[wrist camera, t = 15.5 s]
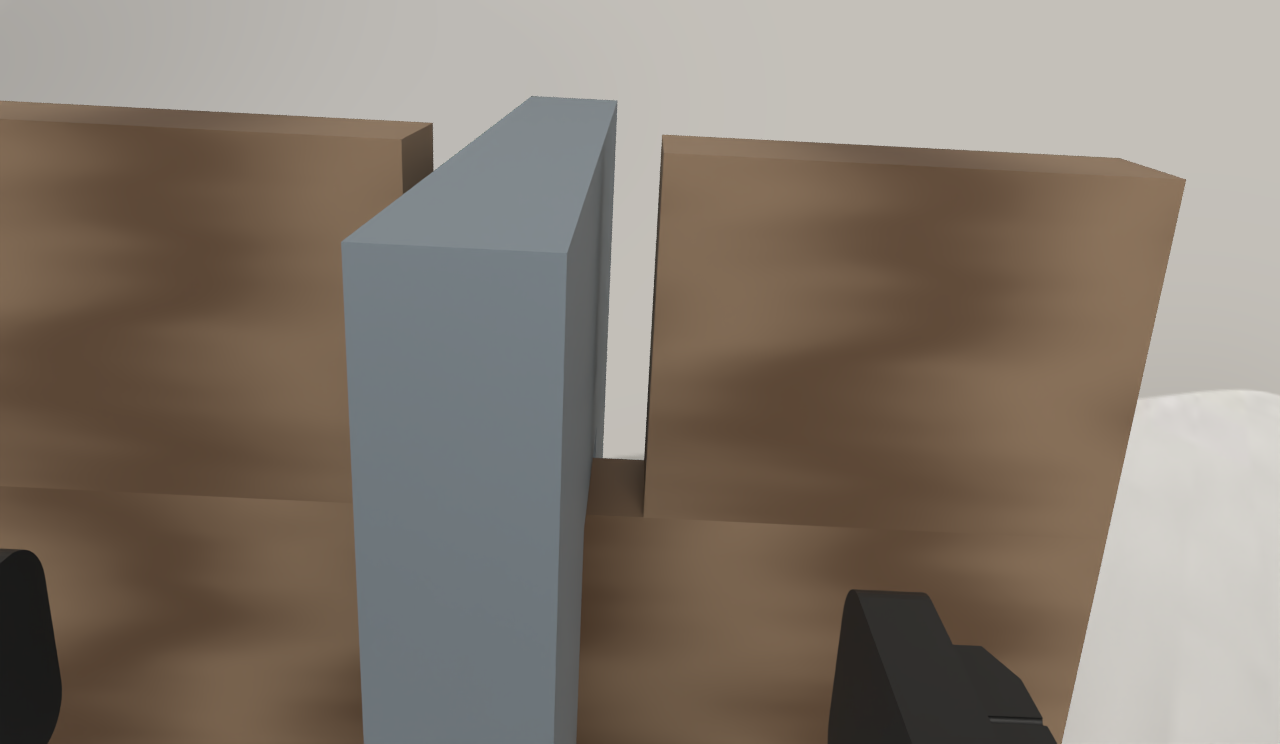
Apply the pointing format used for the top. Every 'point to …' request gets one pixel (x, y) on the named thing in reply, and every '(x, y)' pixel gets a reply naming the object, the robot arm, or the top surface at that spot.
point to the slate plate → (480, 428)
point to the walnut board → (619, 488)
